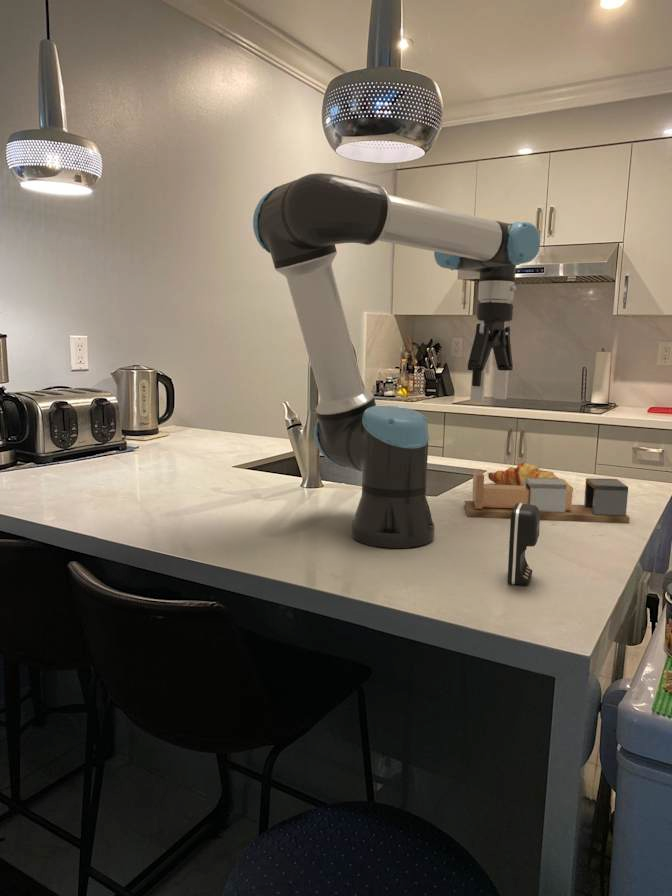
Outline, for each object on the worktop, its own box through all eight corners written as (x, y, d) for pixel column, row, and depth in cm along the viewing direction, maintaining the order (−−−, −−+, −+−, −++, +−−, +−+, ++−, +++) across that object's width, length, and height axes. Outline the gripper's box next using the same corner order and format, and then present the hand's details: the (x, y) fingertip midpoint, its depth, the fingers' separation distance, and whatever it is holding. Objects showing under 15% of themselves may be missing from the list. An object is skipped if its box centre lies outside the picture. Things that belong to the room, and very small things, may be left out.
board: (467, 516, 138) (468, 510, 138) (464, 505, 147) (464, 500, 147) (629, 523, 135) (629, 517, 135) (615, 511, 144) (616, 506, 143)
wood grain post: (475, 508, 139) (476, 475, 138) (472, 500, 146) (473, 468, 145) (572, 512, 137) (575, 478, 136) (565, 504, 144) (567, 471, 142)
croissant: (574, 508, 160) (582, 477, 162) (565, 496, 152) (572, 463, 154) (490, 494, 172) (498, 465, 174) (477, 482, 164) (485, 451, 166)
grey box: (593, 514, 136) (595, 485, 135) (584, 505, 144) (586, 478, 143) (625, 516, 135) (628, 487, 134) (614, 506, 143) (617, 479, 142)
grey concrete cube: (529, 511, 138) (531, 484, 137) (524, 504, 144) (525, 477, 143) (564, 513, 137) (566, 485, 136) (557, 505, 144) (559, 478, 143)
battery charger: (533, 588, 99) (537, 513, 97) (506, 585, 100) (510, 510, 98) (537, 573, 105) (542, 502, 103) (512, 570, 107) (516, 500, 105)
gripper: (490, 297, 134) (483, 404, 137) (531, 306, 154) (524, 399, 157) (455, 298, 138) (449, 401, 141) (499, 306, 158) (493, 396, 162)
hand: (488, 400), depth 149 cm, fingers open, 13 cm apart
